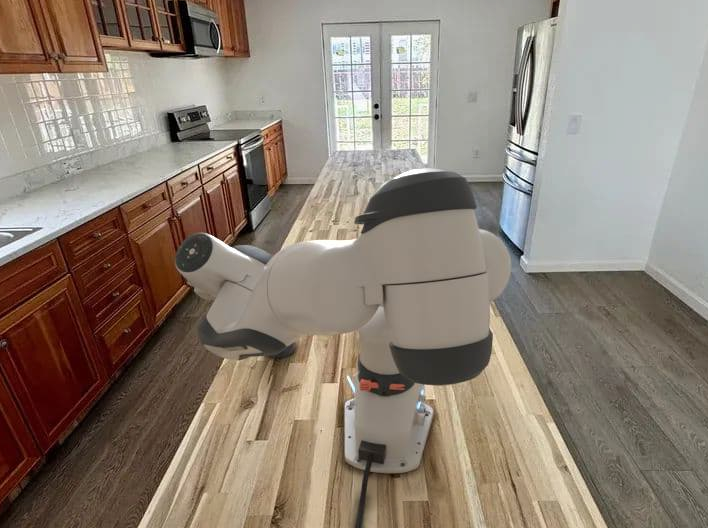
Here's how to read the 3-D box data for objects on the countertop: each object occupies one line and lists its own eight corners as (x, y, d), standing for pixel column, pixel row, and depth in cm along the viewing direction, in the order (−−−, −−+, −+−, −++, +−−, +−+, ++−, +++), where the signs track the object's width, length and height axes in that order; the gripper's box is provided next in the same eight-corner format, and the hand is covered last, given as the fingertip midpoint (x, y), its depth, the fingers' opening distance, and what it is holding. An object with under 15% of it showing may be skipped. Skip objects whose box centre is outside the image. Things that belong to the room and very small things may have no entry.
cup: (290, 359, 109) (286, 325, 105) (261, 357, 110) (255, 323, 106) (299, 341, 116) (295, 309, 111) (271, 339, 117) (266, 307, 112)
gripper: (179, 294, 84) (212, 311, 97) (281, 299, 82) (300, 316, 95) (186, 264, 86) (217, 284, 99) (285, 267, 84) (304, 288, 97)
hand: (258, 300), depth 97 cm, fingers open, 4 cm apart
